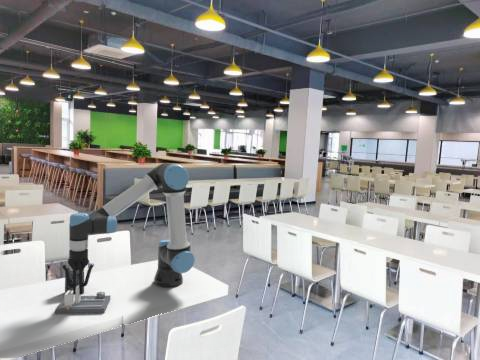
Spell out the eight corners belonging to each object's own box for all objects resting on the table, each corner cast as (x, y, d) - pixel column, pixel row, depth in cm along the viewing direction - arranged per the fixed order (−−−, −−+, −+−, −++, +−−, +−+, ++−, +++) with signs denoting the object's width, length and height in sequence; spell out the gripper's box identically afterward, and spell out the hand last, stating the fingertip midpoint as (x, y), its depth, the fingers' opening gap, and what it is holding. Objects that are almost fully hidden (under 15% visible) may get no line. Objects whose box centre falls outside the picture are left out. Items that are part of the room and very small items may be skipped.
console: (110, 299, 175) (110, 291, 175) (104, 313, 161) (104, 304, 161) (65, 300, 172) (65, 291, 172) (54, 314, 158) (54, 305, 158)
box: (66, 296, 176) (66, 274, 176) (64, 292, 181) (64, 271, 180) (84, 293, 181) (84, 272, 180) (82, 289, 186) (82, 268, 185)
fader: (75, 301, 167) (75, 289, 166) (71, 305, 162) (71, 294, 161) (67, 301, 166) (68, 289, 166) (64, 306, 161) (64, 294, 161)
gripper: (96, 246, 167) (95, 297, 169) (65, 246, 165) (65, 298, 167) (92, 251, 159) (91, 304, 162) (60, 251, 157) (59, 305, 159)
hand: (78, 301), depth 164 cm, fingers closed
